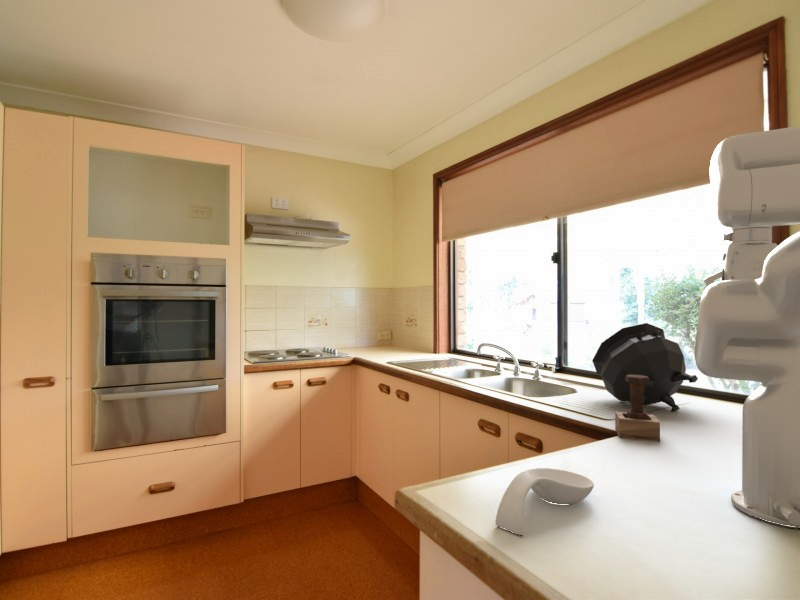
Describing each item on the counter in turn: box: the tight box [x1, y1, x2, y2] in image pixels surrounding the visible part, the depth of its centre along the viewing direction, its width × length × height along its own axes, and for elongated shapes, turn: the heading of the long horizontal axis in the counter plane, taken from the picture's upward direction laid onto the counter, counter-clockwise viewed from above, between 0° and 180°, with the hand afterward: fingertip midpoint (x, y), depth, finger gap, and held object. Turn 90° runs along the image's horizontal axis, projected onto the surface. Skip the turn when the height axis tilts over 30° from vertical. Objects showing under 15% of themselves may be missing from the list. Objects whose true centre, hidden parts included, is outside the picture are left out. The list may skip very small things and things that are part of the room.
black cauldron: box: [592, 322, 699, 412], centre depth 153 cm, size 28×28×24 cm
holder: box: [614, 411, 661, 443], centre depth 121 cm, size 8×10×5 cm
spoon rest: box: [495, 467, 595, 536], centre depth 77 cm, size 24×12×7 cm, turn 137°
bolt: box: [625, 375, 649, 420], centre depth 121 cm, size 6×5×15 cm
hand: (749, 316), depth 99 cm, fingers open, 9 cm apart
